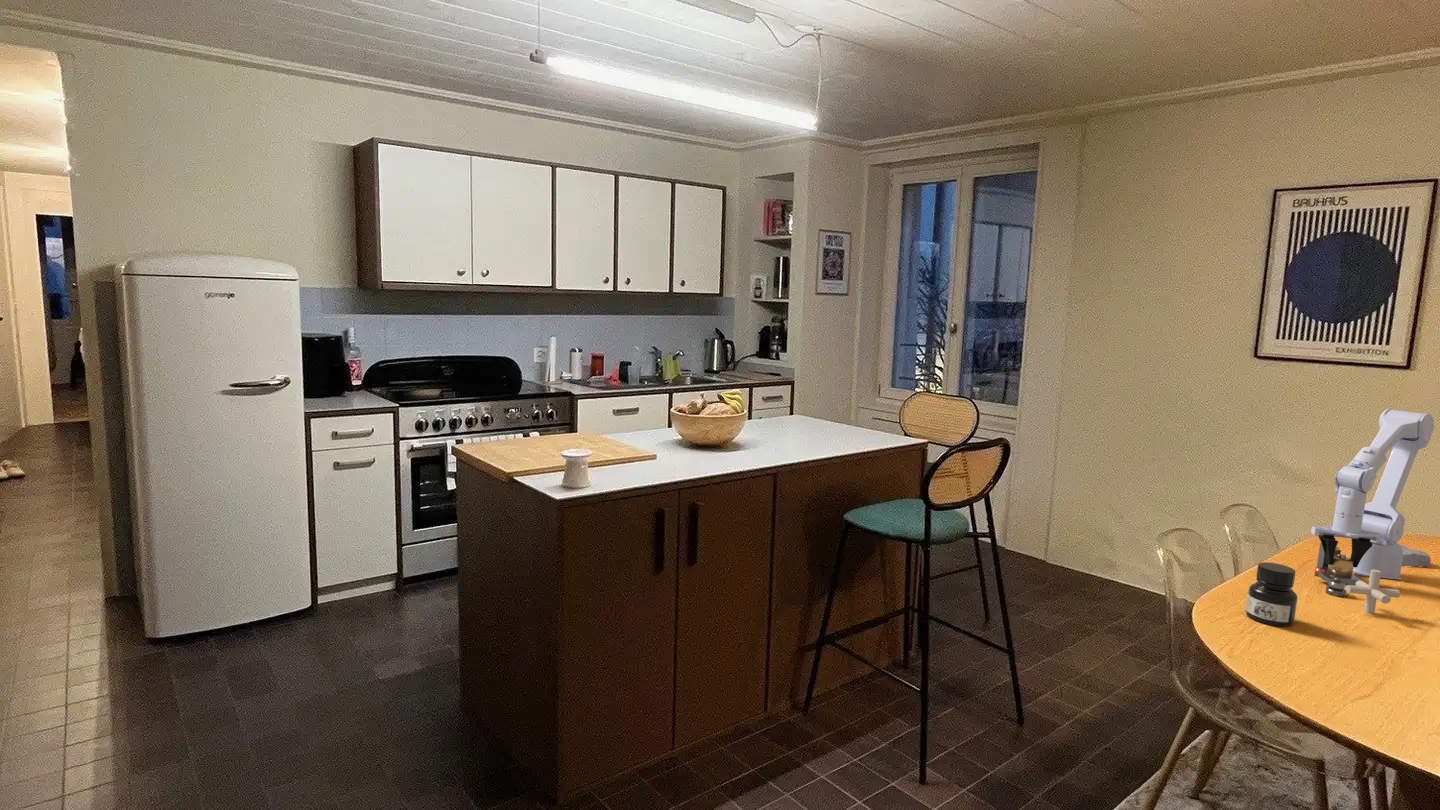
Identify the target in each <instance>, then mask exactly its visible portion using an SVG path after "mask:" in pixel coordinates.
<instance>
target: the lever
mask: <svg viewBox="0 0 1440 810" xmlns="http://www.w3.org/2000/svg"><path fill="white" fill-rule="evenodd" d="M1314 577H1317V578H1320V579H1321V580H1322V581H1324V582H1326V583H1327V584H1328V586H1329V588H1331V589H1335V590H1340V591H1343V590H1346V585H1345V583H1343V582H1336V581H1334V579H1333V578H1332V577H1330V576H1329V575H1327V574H1326V573H1325V569H1324V568H1320V567H1317V566H1316V567H1314Z"/></svg>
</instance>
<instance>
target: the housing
mask: <svg viewBox="0 0 1440 810" xmlns="http://www.w3.org/2000/svg"><path fill="white" fill-rule="evenodd" d="M1350 558H1351V557H1347V556H1346V555H1345V554H1341V553H1340V554H1339V555H1338V556H1337V555H1334V559H1333V564H1332V565H1329V564H1328V570H1327V572H1328V573H1329V574H1331V575H1334V576H1338V577H1344V578H1351V577H1352V574H1353V566H1354V560H1353V559H1350Z"/></svg>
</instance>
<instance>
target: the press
mask: <svg viewBox="0 0 1440 810" xmlns="http://www.w3.org/2000/svg"><path fill="white" fill-rule="evenodd" d="M1341 552H1342V550H1341V549H1339V547H1338V546H1336V549H1335V552H1334V555H1337V556H1339V554H1341ZM1316 567H1320V568H1324V569H1325V573H1326V574H1327V575H1329V576H1330V577H1332V578H1333V579H1334V577H1338V576H1334V575H1331V574H1329V573H1328V572H1327V570H1328V564H1327V563H1326V562H1325V554H1324V550H1323V546H1322V543H1319V548H1318V557H1317V562H1316ZM1338 578H1342V582H1343V583H1345V586H1347V585H1353V586H1356V582H1357V581H1359V580H1361V581H1363V580H1362V579H1361V578H1359V577H1358V576H1356V575H1354V574H1353V573H1352V577H1351V578H1344V577H1338Z"/></svg>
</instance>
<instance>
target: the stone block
mask: <svg viewBox="0 0 1440 810" xmlns="http://www.w3.org/2000/svg"><path fill="white" fill-rule="evenodd" d="M1399 545H1400V546H1401V547H1402V550H1403V560H1402V566H1401V567H1405V566H1426V567H1425V568H1429V567H1430V566H1431V565H1430V564H1431V562H1432V561H1431V557H1430V556H1431V555H1430V554H1428V553H1427V552H1426V551H1424V550H1418V549H1412V548H1409V547H1407V546H1406V545H1405V544H1399Z"/></svg>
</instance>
